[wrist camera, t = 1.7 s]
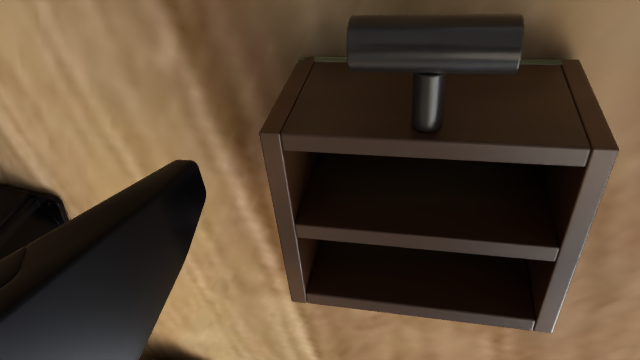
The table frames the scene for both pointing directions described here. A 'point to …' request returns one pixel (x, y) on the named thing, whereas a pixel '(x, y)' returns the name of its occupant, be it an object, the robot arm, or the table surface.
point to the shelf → (437, 171)
